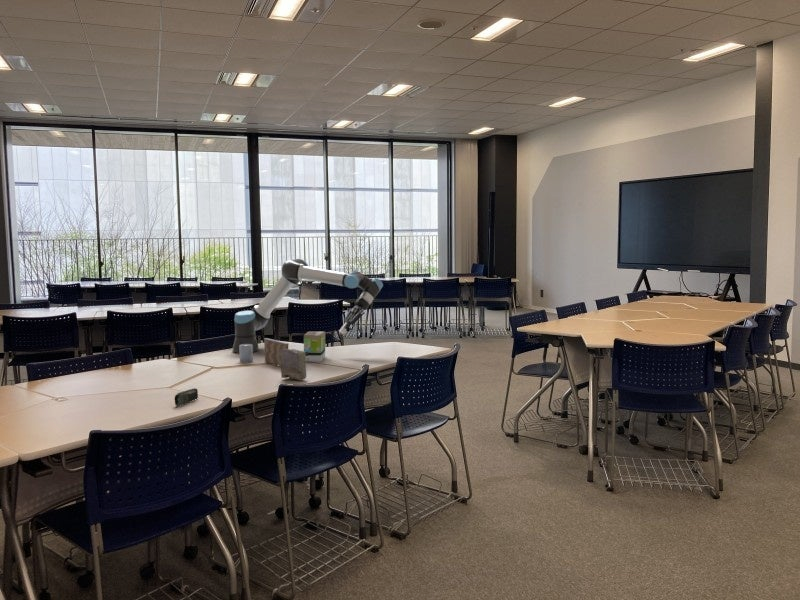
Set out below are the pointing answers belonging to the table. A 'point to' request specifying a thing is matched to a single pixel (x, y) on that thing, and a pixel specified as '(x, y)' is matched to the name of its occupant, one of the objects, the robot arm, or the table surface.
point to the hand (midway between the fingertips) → (341, 332)
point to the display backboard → (274, 350)
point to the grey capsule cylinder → (246, 352)
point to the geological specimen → (293, 364)
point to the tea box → (314, 346)
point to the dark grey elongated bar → (186, 396)
